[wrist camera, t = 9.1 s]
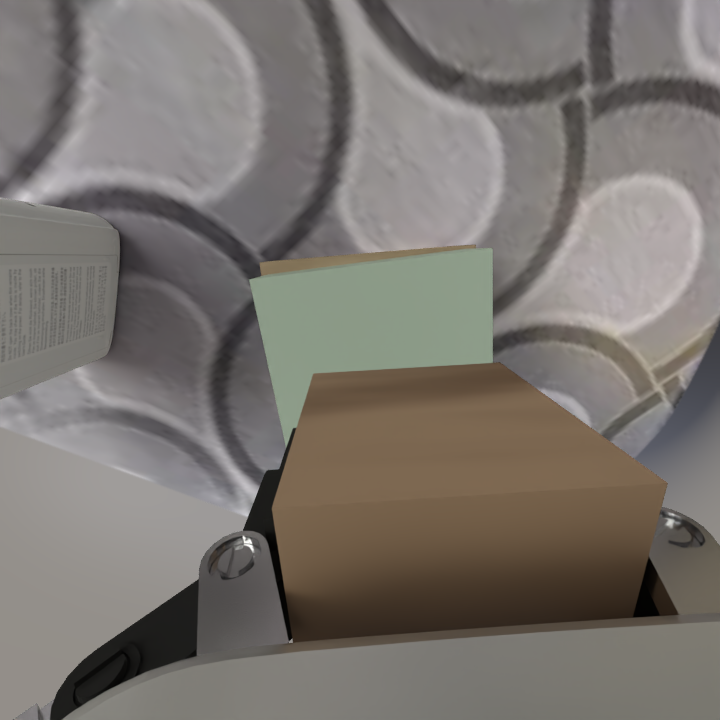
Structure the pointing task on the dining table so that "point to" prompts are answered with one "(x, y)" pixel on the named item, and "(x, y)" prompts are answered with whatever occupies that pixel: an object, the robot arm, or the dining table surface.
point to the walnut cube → (455, 507)
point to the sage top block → (373, 319)
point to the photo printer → (54, 291)
